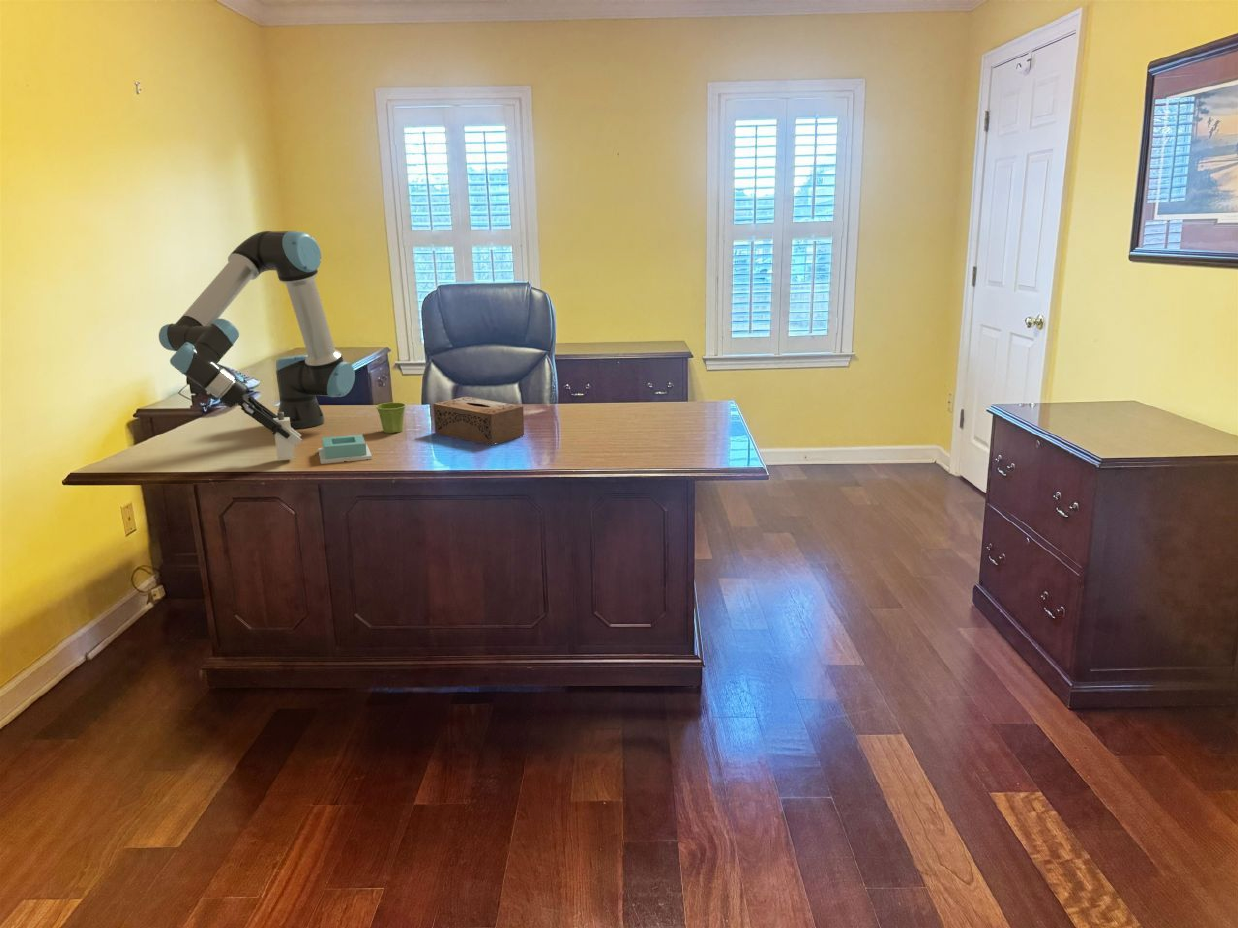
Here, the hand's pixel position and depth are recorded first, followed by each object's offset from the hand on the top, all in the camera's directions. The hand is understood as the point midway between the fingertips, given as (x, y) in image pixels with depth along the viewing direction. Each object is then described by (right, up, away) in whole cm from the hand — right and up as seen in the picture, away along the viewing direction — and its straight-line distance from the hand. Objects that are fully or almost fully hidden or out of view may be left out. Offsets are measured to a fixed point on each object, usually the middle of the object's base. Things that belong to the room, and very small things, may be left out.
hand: (298, 440), depth 237 cm
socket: (+11, -4, +6) cm, 14 cm away
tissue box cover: (+47, +2, +31) cm, 56 cm away
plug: (-3, -5, 0) cm, 6 cm away
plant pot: (+18, +4, +34) cm, 39 cm away
